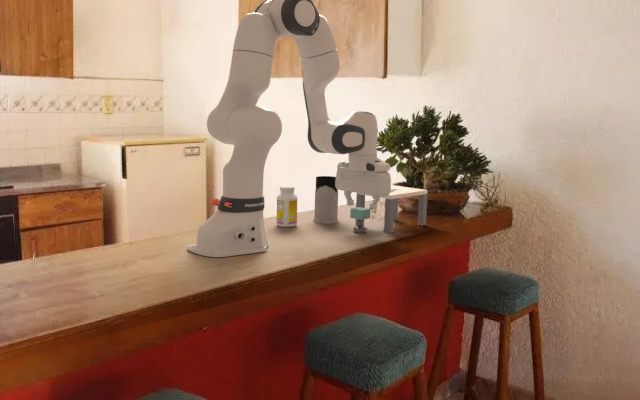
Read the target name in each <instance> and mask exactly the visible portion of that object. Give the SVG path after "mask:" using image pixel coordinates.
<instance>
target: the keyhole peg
mask: <svg viewBox="0 0 640 400" xmlns="http://www.w3.org/2000/svg"><path fill="white" fill-rule="evenodd" d="M349 217H350V219H354V220H356V219H358V223H357V226H355V225H354V226H353V227H352V228H353V231H352V232H353V233H355V234H366V232H367V227H366V226H364V227H363V226H362V225H363V219H364V220H369V219H371V209H370V208H369V207H368V208H367V207H365V208H363V207H357V208H356V207H352V208H351V207H350V216H349Z"/></svg>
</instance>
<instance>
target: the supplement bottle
mask: <svg viewBox="0 0 640 400" xmlns="http://www.w3.org/2000/svg"><path fill="white" fill-rule="evenodd" d="M279 191H280V193H278V195H277V196H276V225H277V226H278V227H281V228H292V227H296V226H297V224H298V196H297V194H295V186H293V185H281V186H280V187H279Z"/></svg>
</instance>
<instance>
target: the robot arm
mask: <svg viewBox="0 0 640 400" xmlns="http://www.w3.org/2000/svg"><path fill="white" fill-rule="evenodd" d="M278 38H292V39H293V41H294V42H295V44H296V46H297V50H298V55H299V59H300V63H301V69H302V90H303V97H304V103H305V109H306V114H307V121H308V122H307V123H308V124H307V125H308V126H307V141H308V144H309V146H310V148H311V149H312V150H313V151H314V152H316V153H320V154H324V153H325V154H326V153H327V154H334V155H335V154H336V155H347V154H348V161H345V160H342V161H340V162H339V163H338V164H337V166H336V168H337V170H336V176H335V177H336V180H335V187H336V189H337V190H339V191H344V192H343V195H344V197H345V200H346V205H347V206H354V204H355V199H353V198H352V193H356V194H357V193H362V194H369V195H372V196H371V197H372V202H371V203H369V209H370V210H377V208H378V204H379V201H380V199H381V198H380V196H382V197H383V196H388V195H389V194H390V192H391V186H392V178H391V175H390V172H389V171H390V170H391V165H390V163H388V162H386V161H384V160H382V159H380V158H379V157H378V151H377V144H378V137H379V136H378V135H379V134H378V133H379V132H378V131H379V130H378V121H377V117H376V115H375V114H373V113H372V112H369V111H365V110H364V111H362V110H353V111H351V113H350V114H349V115H348V116H346V117H345V118H343V119H342V120H339V121H332V120H331V119H330V118H329V116H328V115H329V114H328V110H327V109H328V108H327V104H326V97H325V94H326V93H325V92H326V88H327V86H328V84H330V83H331V82H333V81H334V80H335V78H336V77H337V76H338V74H339V72H340V69H341V68H340V66H341V65H340V54H339V52H338V51H339V50H338V47H337V45H336V43H337V42H336V41H335V37H334V34H333V31H332V30H331V27H330V25H329V22H328V21H327V18H326V17H325V16H323V15H322V14H320V13H319V12H318V7H317V6H316V5H315V2H314V1H313V0H264V1H262V2H261V3H259V4H258V5H257V6H256V8H255V10H254V11H253V12H251V13H247V14H245V15H244V16H242V18H241V19H240V21H239V23H238V26H237V30H236V34H235V38H234V42H233V48H232V54H231V63H230V69H229V75H228V79H227V83H226V86H225V88H224V91H223V93H222V96H221V98H220V100H219V101H218V103H217V105H216V107H214V108H213V109H212V110H211V111H210V113H209V114H208V116H207V120H206V121H207V122H206V128H207V131H208V134H209V135H210V136H211V137H212V138H213V139H215V140H216V141H219V142H220V143H223V144H225V145H230V146H231V145H232V146H233V150H232V154H231V157H230V159H229V161H228V162H227V163H225V165H224V166H223V169H222V195H221V196H220V199H218V198H215V197H213V198H211V199H210V201H209V202H210V204H211V206H215V207H217V210H215V212H214V213H213V214H212V215H211V216H210V217H209V218H207V219H206V220H205V221H204V222H203V223H202V224H201V225H200V226H199V227H198V231H197V233H196V243H191V244H189V245H188V246H187V249H188V251H189V252H191V253H194V254H196V255H200V256H205V257H210V258H225V257H234V256H239V255H240V256H242V255H247V254H257V253H264V252H267V248H268V247H269V244H268V240H267V236H266V228H265V222H264V210H265V196H264V172H265V165H266V161H267V158H268V155H269V153H270V151H271V149H272V147H273V146H274V145H275V144H276V143H277V142H278V141H279V139H280V137H281V135H282V133H283V124H282V120H281V118H280V116H279V115H278V113H276V111H273V110H272V109H269V108H266V107H263V106H258V105H257V103H258V102H259V99H260V98H261V95H262V94H263V93H264V92H266V91H267V90H268V88H269V86H270V83H271V77H272V76H271V75H272V69H273V63H274V55H275V45H276V42H277V40H278Z"/></svg>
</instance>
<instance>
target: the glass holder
mask: <svg viewBox="0 0 640 400" xmlns="http://www.w3.org/2000/svg"><path fill="white" fill-rule="evenodd" d="M335 180H336V176H333V175H331V176H329V175H328V176H325V175H324V176H323V175H321V176H316V177H315V190H314V217H313V220H312V222H314V223H317V224H326V225H327V224H337V223H339V219H338V212H339V211H338V210H339V209H338V208H339V207H338V206H339V191H338V190H337V189H336V187H335Z"/></svg>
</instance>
